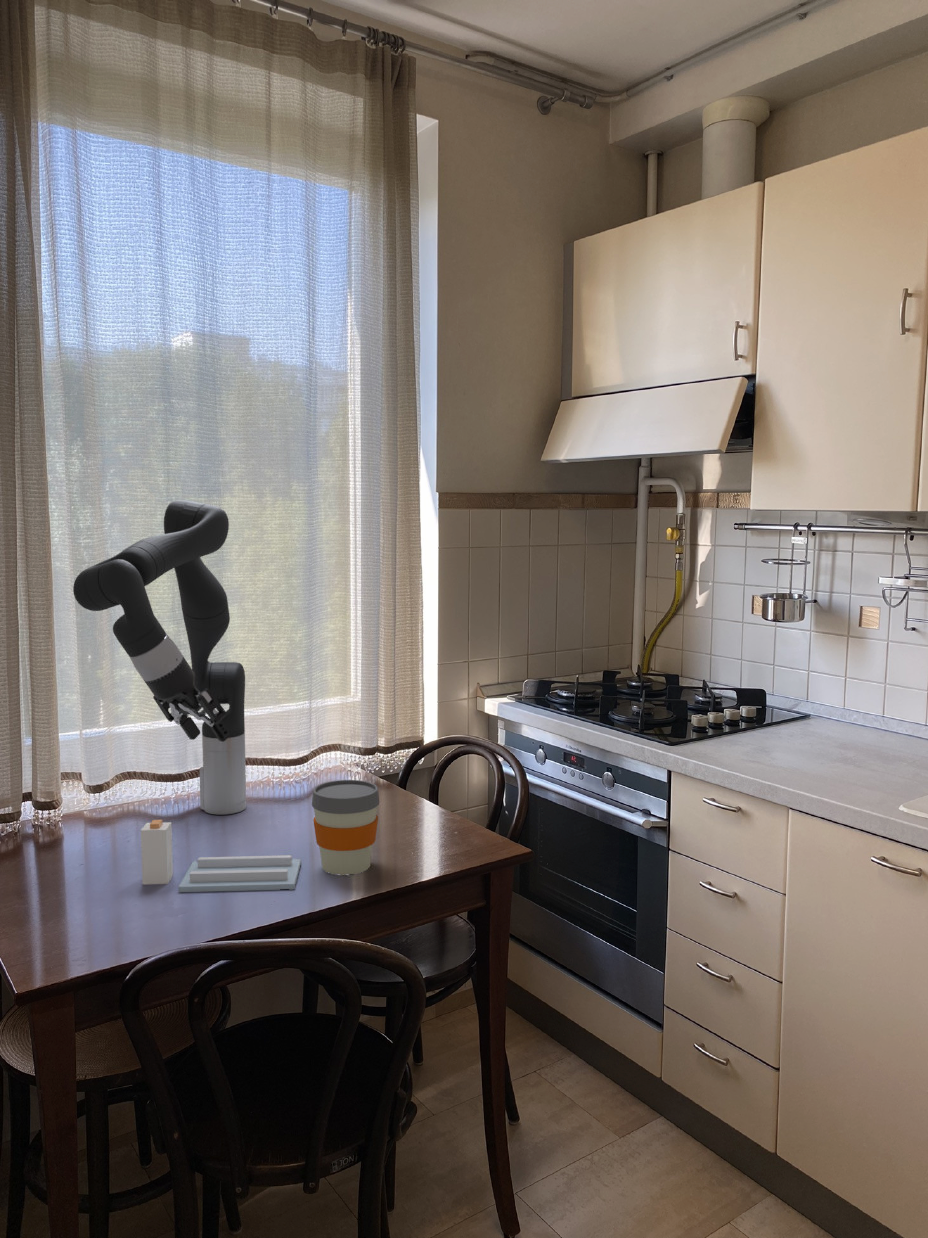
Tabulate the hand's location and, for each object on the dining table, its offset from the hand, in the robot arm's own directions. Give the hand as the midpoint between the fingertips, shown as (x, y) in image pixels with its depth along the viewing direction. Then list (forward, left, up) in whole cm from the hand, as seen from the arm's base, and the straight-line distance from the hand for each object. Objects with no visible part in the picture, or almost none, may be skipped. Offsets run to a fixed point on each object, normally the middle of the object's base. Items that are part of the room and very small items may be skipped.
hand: (210, 737), depth 163 cm
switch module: (-10, -4, -26) cm, 29 cm away
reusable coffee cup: (+17, +17, -27) cm, 36 cm away
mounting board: (+3, +4, -26) cm, 27 cm away
